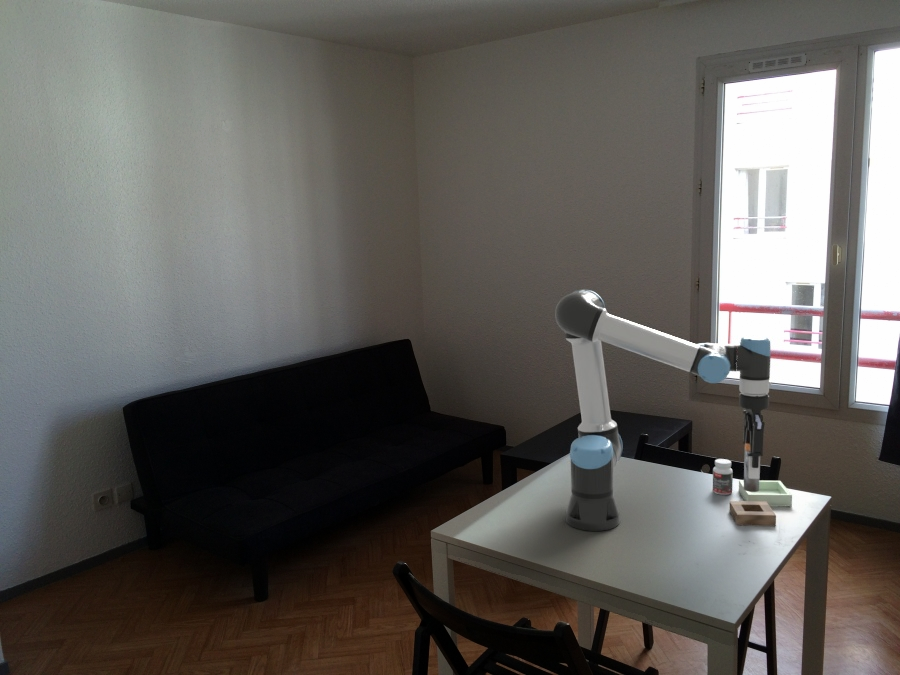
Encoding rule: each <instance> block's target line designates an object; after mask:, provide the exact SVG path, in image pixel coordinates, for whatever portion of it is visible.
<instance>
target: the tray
mask: <svg viewBox="0 0 900 675" xmlns="http://www.w3.org/2000/svg"><path fill="white" fill-rule="evenodd" d="M738 492H739V494H740V495H741V497H742V498H743V501H761V502H767V503H768V505H769V506H770V507H778V506H790V507H789V508H791V507H792V506H793V494H792V493H791V492H790V491H789V490H788V488H787V486H785V485H784V484H783V482H782V481H781V480H759V491H757V492H749V491H746V490H744V479H739V480H738Z"/></svg>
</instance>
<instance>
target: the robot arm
mask: <svg viewBox="0 0 900 675" xmlns="http://www.w3.org/2000/svg"><path fill="white" fill-rule="evenodd" d="M554 317H555V323H556V324H557V326H558V327H559V328H560V329H561V330H562V331H563V332H564V337H565V339H566V341H568V342H569V343H570V344H571V350H572V357H573V358H572V359H573V363H574V364H573V366H574V371H575V379H576V386H577V395H578V400H579V402H578V403H579V409H580V415H581V423H579V425H578V427H577V433H578V438H576V439H574V440H573V441H572V443H571V445H570V451H569V456H570V457H569V458H570V483H571V484H570V485H571V487H570V488H571V492H570V493H571V495H570V497H569V500H568V503H567V504H568V505H567V507H566V510H565V522H566V523H567V524H568V525H569V526H571V527H573V528H574V529H579V530H582V531H589V532H600V531H607V530H612V529H614V528H615V527H617V526H619V524H620V523H621V517H620V516H621V515H620V511H619V508H618V505H617V501H616V499H615V496H614V469H615V468H616V466H617V464H618V462H619V461H620V459H621V456H622V454H623V449H624V448H623V446H624V445H623V440H622V438H621V435H620V434H619V429H618V424H617V422H616V421H615V420H613V419H612V415H611V408H610V400H609V393H608V391H609V390H608V385H607V378H606V368H605V362H604V355H603V346H602V342H603V343H606V344H610V345H611V346H615V347H617V348H621V349H623V350H626V351H629V352H631V353H635V354H637V355H640V356H643V357H646V358H649V359H651V360H654V361H656V362H660V363H662V364H666V365H668V366H671V367H674V368H677V369H680V370H682V371H686V372H689V373H691V374H693V375H696V376H698V377H701V379H702V380H703V381H704V382H707V383H710V384H718V383H721V382H723V381H724V380H725V379H726V378H727V377H728V375H729V374H730V372H739V385H738V386H739V392H740V393H739V397H738V399H739V402H738V406H739V407H740V408H742V409H743V411H742V413H743V414H742V416H743V427H742V428H743V429H742V430H743V432H742V435H743V437H742V438H743V439H742V445H743V446H744V448H745V443H747V442H750V454H747V455H748V456H749V473H748V478H749V479H759V476H760V473H761V457H763V453H764V430H765V421H764V416H763V414H762V411H764V410H767V409H769V406H770V395H769V393H770V385H772V380H770V376H771V375H770V374H771V356H772V355H771V340H770V339H769V338H768V337H765V336H758V335H752V336H751V335H750V336H749V335H748V336H747V335H746V336H742V337H741V339H740V341H739V343H713V342H701V343H700V342H699V343H693V342H690V341H688V340H685V339H682V338H679V337H676V336H673V335H671V334H668V333H665V332H661V331H659V330H656V329H653V328H650V327H647V326H644V325H642V324H638V323H636V322H633V321H630V320H627V319H624V318H621V317H619V316H615V315H613V314H610V313H608V311H607V309H606V305H605V302H604V300H603V299H602V297H601V296H600V295H599V294H598V293H596V292H595V291H593V290H590V289H578V290H574V291H573V292H571V293H570V294H566V295H565V296H564V297H562V298H561V299H560V300H559V302H558V303H557V305H556V306H555V311H554Z"/></svg>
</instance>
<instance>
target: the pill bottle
mask: <svg viewBox="0 0 900 675" xmlns="http://www.w3.org/2000/svg"><path fill="white" fill-rule="evenodd" d="M714 465H715V466H714V467H713V468H712V492H713V493H714V494H716V495H720V496H728V495H731V494H732V493H733V477H734V476H733V473H734V472H733V469H732V468H731V467H732V461H731V460H729V459H727V458H726V459H724V458H718V459H715V460H714Z"/></svg>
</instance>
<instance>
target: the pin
mask: <svg viewBox="0 0 900 675" xmlns="http://www.w3.org/2000/svg"><path fill="white" fill-rule="evenodd" d="M744 446H745V447H744V459H743V460H744V461H743V466H744V467H743V469H744V470H743V480H744V490H746V491H749V492H757V491H759V480H760V476H759V479H749V478H748V473H749V456H748V455H747V454H750V442H747V443H745V445H744ZM760 481H761V480H760Z"/></svg>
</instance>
